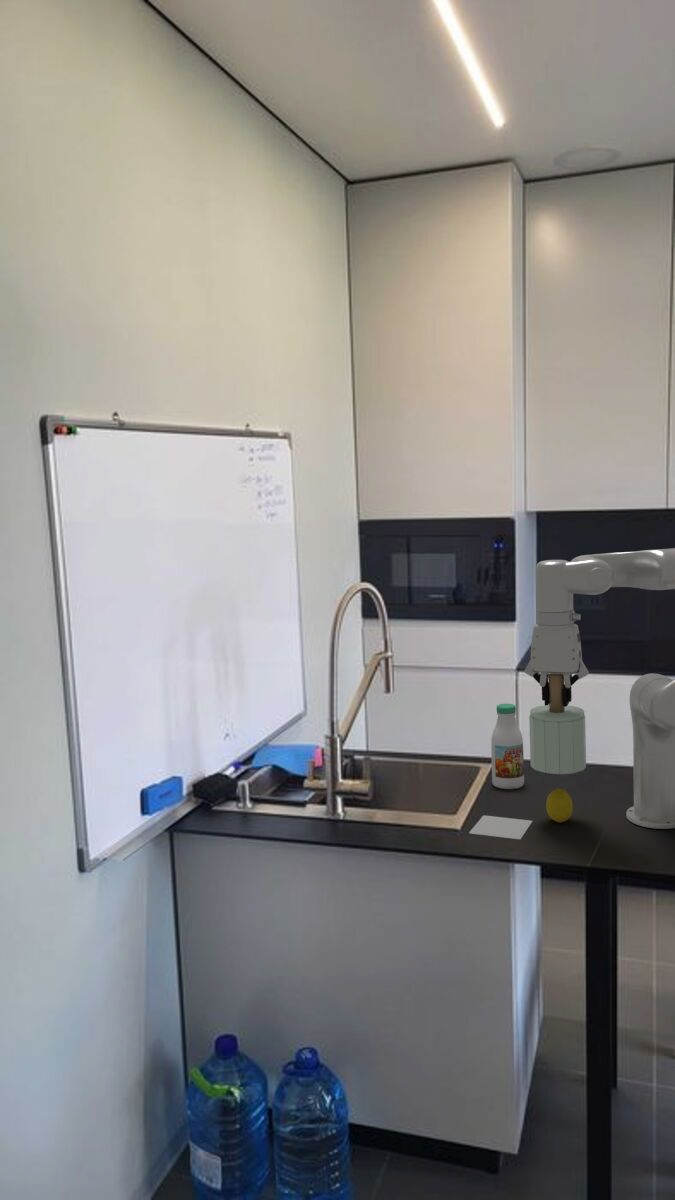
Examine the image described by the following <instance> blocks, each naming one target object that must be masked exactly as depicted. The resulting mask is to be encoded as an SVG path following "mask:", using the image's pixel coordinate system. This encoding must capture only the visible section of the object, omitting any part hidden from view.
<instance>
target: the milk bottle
mask: <svg viewBox="0 0 675 1200" xmlns="http://www.w3.org/2000/svg"><path fill="white" fill-rule="evenodd" d="M516 711H517V708H516V705H515V704H514V703H513V704H512V703H499V704H497V705H496V715H497V719H496V723H495V725H494V728H493V730H492V734H491V739H490V740H491V742H490V743H491V744H490V745H491V751H490V752H491V780H492V781H491V783H492V785H493V786H494V787H496V788H498V789H502V790H514V789H520V788H521V787H523V786H524V785H525V767H524V766H525V762H524V761H525V760H524V741H523V734H522V732H521V729H520V727H519V725H518V723H517V720H516V714H517V713H516Z"/></svg>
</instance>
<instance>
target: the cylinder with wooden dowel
mask: <svg viewBox="0 0 675 1200" xmlns="http://www.w3.org/2000/svg"><path fill="white" fill-rule="evenodd" d="M548 676H549V678H548V682H549V705H545V704H543V705H540V706H539V705H538V706H535V707H532V708H531V709H530V711H529V717H528V719H529V722H528V723H529V749H530V750H529V753H530V755H529V756H530V759H529V761H530V767H531V768H532V769H533V770H534V771H537V772H541V773H544V774H552V775H554V774H555V775H568V774H576V773H578V772H583V771H584V770H585V769H586V767H587V750H586V749H587V748H586V747H587V746H586V745H587V743H586V741H587V740H586V739H587V738H586V737H587V736H586V715H585V710H584V709H583V708H581V707H578V706H575V705H570V704H568V705H567V707H565V706H563V687H564V684H565V682H564V675H563V673H549V674H548Z"/></svg>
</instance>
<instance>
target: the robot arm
mask: <svg viewBox="0 0 675 1200" xmlns="http://www.w3.org/2000/svg"><path fill="white" fill-rule="evenodd" d="M610 588H636V589H641V590H647V591H666V590H675V547H673V548H661V549H647V550H646V549H645V550H638V551H624V552H607V553H595V554H584V555H579V556H576V557H574V558H572V559H571V560H570V561H568V560H565V559H547V560H541V561H539V562H538V563H536V566H535V593H536V594H535V595H536V602H535V603H536V607H535V608H536V624H534V625H533V629H532V635H531V645H530V646H531V648H530V660H529V662H528V663H527V665H526V667H525V669H524V673H525V674H526V675H527V676H530V677H532V678H533V679H534V680H535V681H536V682H537V683H538V684H539V686H540V687H541V700H542V701H544V705H549V676H548V674H549V673H563V675H564V687H563V706H565V707H567V705H570V703H571V702H572V699H573V698H572V696H573V695H572V686H573V685H574V684H575V683H576V682H578V681H579V680H581V679H583V678H584V677H587V676H588V675H589V670H588V668H587V666H586V665H585V664H584V661H583V656H582V655H583V653H582V643H581V636H580V635H581V634H580V629H579V626H578V624H576V623H575V622H576V621H581V616H582V615H581V614H580V613H577V612H576V611H575V610H574V594H576V595H577V594H578V595H589V596H590V595H591V596H594V595H595V596H596V595H600V594H603V593H605V592H607V591H608V590H610ZM629 708H630V716H631V723H632V737H633V738H632V739H633V740H632V745H633V747H632V750H633V751H632V753H633V754H632V755H633V756H632V757H633V761H632V763H633V764H632V765H633V806H631V807H629V808H628V809H627V810H626V813H625V814H626V818H627V820H628V821H629V822H631V823H633V824H634V825H637V826H641V827H644V828H649V829H656V830H657V829H659V830H668V829H669V830H670V829H675V678H674V679H671V678H670V677H667V676H665V675H662V674H660V673H647V674H643V675H642V676H639V677H638V678H637V679H636V680H635V681H634V682H633V684H632V686H631V688H630V691H629Z"/></svg>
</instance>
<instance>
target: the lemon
mask: <svg viewBox="0 0 675 1200" xmlns="http://www.w3.org/2000/svg"><path fill="white" fill-rule="evenodd" d="M573 807H574V806H573V799H572V797H571V795H570V793H568V792H567V791H566V790H564V789H562V788H561V787H557V788H556V789H553V790H551V791H550V792H549V794H548V795H547V798H546V804H545V809H546V812H547V815H548V817H549V818H550V819H551V820H552V821H554V822H557V823H564V822H566V821H568V820H569V819H570V818H571V816H572V814H573V810H574V809H573Z"/></svg>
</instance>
